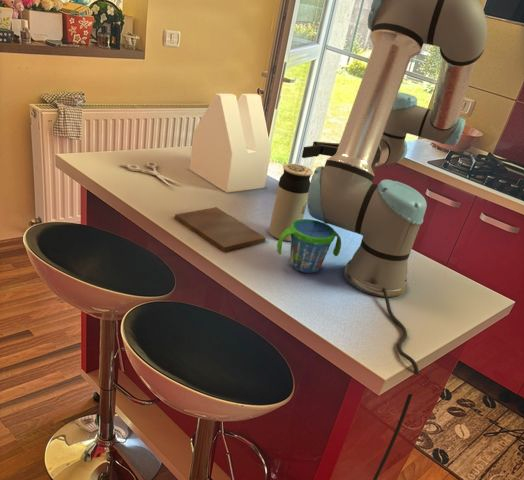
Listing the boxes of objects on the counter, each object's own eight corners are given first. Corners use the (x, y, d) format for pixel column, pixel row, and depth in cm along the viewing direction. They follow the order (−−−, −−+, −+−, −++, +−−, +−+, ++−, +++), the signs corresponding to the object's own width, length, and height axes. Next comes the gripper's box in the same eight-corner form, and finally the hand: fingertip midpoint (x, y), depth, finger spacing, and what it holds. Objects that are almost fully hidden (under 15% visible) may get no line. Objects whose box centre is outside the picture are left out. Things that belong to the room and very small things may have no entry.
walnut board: (264, 241, 140) (265, 237, 140) (223, 251, 131) (224, 247, 131) (215, 211, 151) (216, 206, 150) (174, 218, 142) (174, 214, 141)
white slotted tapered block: (189, 169, 174) (198, 85, 159) (227, 165, 183) (238, 85, 168) (226, 192, 163) (239, 104, 149) (264, 187, 173) (279, 104, 158)
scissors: (149, 160, 171) (191, 182, 162) (149, 162, 172) (190, 185, 162) (120, 163, 164) (163, 187, 155) (120, 166, 165) (162, 190, 155)
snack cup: (277, 274, 127) (286, 234, 121) (269, 253, 135) (277, 215, 129) (339, 280, 131) (351, 241, 125) (328, 259, 139) (339, 222, 133)
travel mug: (264, 234, 144) (277, 167, 133) (276, 225, 150) (290, 160, 139) (291, 244, 142) (306, 177, 131) (302, 235, 148) (318, 170, 137)
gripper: (401, 182, 151) (356, 193, 137) (332, 152, 163) (285, 159, 150) (410, 155, 147) (365, 164, 133) (338, 126, 159) (291, 131, 145)
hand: (322, 161), depth 141 cm, fingers open, 13 cm apart
